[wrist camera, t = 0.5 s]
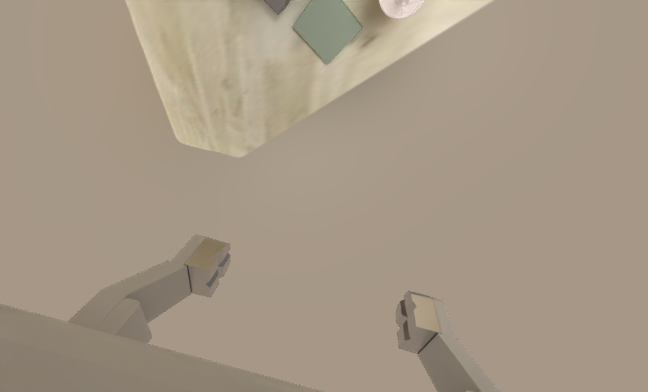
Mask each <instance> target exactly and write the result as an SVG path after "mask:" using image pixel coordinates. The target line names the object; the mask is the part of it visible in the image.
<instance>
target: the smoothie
mask: <svg viewBox="0 0 648 392" xmlns="http://www.w3.org/2000/svg"><path fill="white" fill-rule="evenodd" d="M423 1H424V0H379V4H380V7H381V9H382V10H383V12H384V13H385V14H386V15H387V16H389V17H391V18H393V19H404V18H407V17H409V16H411V15H412V14H413V13H415V12H416V11H417V10H418V9H419V8H420V6H421V5H422V3H423Z"/></svg>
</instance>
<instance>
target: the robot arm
mask: <svg viewBox="0 0 648 392" xmlns="http://www.w3.org/2000/svg"><path fill="white" fill-rule="evenodd" d="M229 250H230V244H229V243H226V242H222V241H219V240H216V239H212V238H209V237H205V236H202V235H198V234H196V235H194V236H193V237H192V238H191V239H190V240H189V241H188V242H187V243H186V244H185V246H184V247H183V248H182V249H181V250H180V251H179V253H178V254H177V255H176V256H175V257H174V258H173V259H172V260H171V261H165V262H163V263H161V264H158V265H156V266H154V267H152V268H149V269H147V270H145V271H142V272H140V273H138V274H136V275H133V276H131V277H129V278H126V279H125V280H122V281H120V282H117V283H115V284H113V285H111V286H109V287H106V288H104V289H102V290H100V292H98V293H97V294H96V295H95V296H94V297H93V298H92V299H91V300H90V301H89V302H88V303H87V304H86V305H85V306H84V307H83V308H81V310H79V311H78V312H77V313H76V314H75V315H74V316H73V317H72V318H71V319H70V320H69V321H68V322H66V321H63V320H59V319H55V318H51V317H47V316H44V315H41V314H37V313H33V312H29V311H26V310H22V309H18V308H14V307H11V306H7V305H4V304H0V392H323V391H319V390H316V389H312V388H308V387H305V386H301V385H297V384H294V383H290V382H286V381H283V380H279V379H275V378H271V377H268V376H264V375H260V374H257V373H253V372H250V371H246V370H242V369H239V368H235V367H231V366H228V365H224V364H220V363H217V362H213V361H209V360H206V359H202V358H198V357H195V356H191V355H187V354H184V353H180V352H176V351H172V350H169V349H165V348H161V347H158V346H154V345H150V344H148V342H149V341H150V339H151V338H152V335H151V332H150V329H149V327H148V324H147V323H149V322H150V321H152V320H153V319H155V318H156V317H158V316H159V315H161V314H162V313H163V312H165V311H167V310H168V309H169V308H171V307H172V306H174V305H175V304H177V303H179V302H180V301H182V300H183V299H184V298H186V297H187V296H189V295H191V293H194V294H198V295H203V296H207V297H211V296H212V294H213V293H214V291H215V290H216V288H217V286H218V284H219V283H218V282H219V281H218V279H219V278H221V277H223V276H224V275H225V273H226V271H227V269H228V266H229V263H230V255H229V253H228V251H229ZM404 299H405V300H402V301H400V302H399V304H398V306H397V310H396V323H397V324H398V326H399V327H400V329H399V331H398V332H397V336H398V347H399V349H403V350H406V351H410V352H413V353H416V354H418V357H419V358H420V360H421V362H422V364H423V366H424V368H425V369H426V371H427V373H428V375H429V377H430V379H431V380H432V382H433V384H434V386H435V388H436V390H437V391H438V392H500V391H499V389H498V388H497V387H496V386H495V384H494V383H493V382H492V381H491V379H490V378H489V377H488V376H487V374H486V373H485V372H484V371H483V369H482V368H481V367H480V366H479V364H478V363H477V362H476V361H475V359H474V358H473V357H472V356H471V355H470V353H469V352H468V351H467V349H466V348H465V347H464V346H463V344H462V343H461V342H460V341H459V339H458V338H454V334H453V331H452V327H451V325H450V321H449V317H448V314H447V310H446V307H445V303H444V302H443V300H441V299H437V298H433V297H430V296H426V295H422V294H419V293H415V292H410V291H408V292H406V293H405V295H404Z"/></svg>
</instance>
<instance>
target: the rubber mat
mask: <svg viewBox="0 0 648 392" xmlns="http://www.w3.org/2000/svg"><path fill="white" fill-rule="evenodd" d="M293 28H294V29H295V30H296V31H297V32H298V33H299V34H300V36H301V37H302V38H303V39H304V40H305V41H306V42H307V43H308V44H309V45H310V46H311V47H312V49H313V50H314V51H315V52H316V53H317V54H318V55H319V56H320V57H321V58H322V59H323V60H324V62H325V63H326V64H327V65H328V64H329V63H330V61H331V60H332V59H333V58H334V57H335V56H336V55H337V54H338V53H339V52H340V51H341V50H342V49H343V48H344V47H345V46H346V45H347V44H348V43H349V42H350V40H351V39H352V38H353V37H354V36H355V35H356V34H357V33H358V32H359V31H360V30H361V29H362V25H361V24H360V23H359V21H358V20H357V19H356V17H355V16H354V15H353V14H352V12H351V11H350V10H349V8H348V7H347V6H346V5H345V3H344V2H343V1H342V0H312V1H311V2H310V4H309V5H308V6H307V8H306V9H305V10H304V12H303V13H302V15H301V16H300V17H299V19H298V20H297V22H296V23H295V24H294V26H293Z"/></svg>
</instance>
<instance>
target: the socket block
mask: <svg viewBox="0 0 648 392" xmlns="http://www.w3.org/2000/svg"><path fill="white" fill-rule="evenodd" d="M265 1H266V3H267V4H268V5H269V6H270V7H271V8H272V9H273V10H274V11H275V12H276V13H277V14H279V13H280V12H281V11H282V10H284V9H285V7H286V6H287V4H288V3H289V1H290V0H265Z"/></svg>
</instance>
